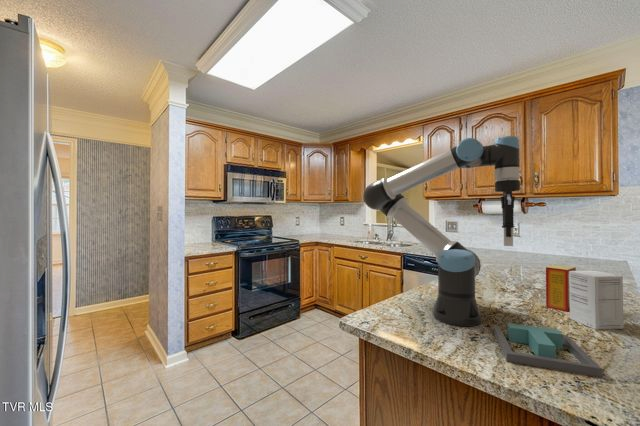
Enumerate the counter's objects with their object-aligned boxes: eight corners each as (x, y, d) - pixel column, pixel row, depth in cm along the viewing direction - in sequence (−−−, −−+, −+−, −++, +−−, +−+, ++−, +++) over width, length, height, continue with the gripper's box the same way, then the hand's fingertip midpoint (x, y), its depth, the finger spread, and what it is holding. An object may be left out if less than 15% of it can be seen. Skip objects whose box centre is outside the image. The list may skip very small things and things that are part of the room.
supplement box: (595, 318, 97) (594, 270, 97) (625, 329, 88) (624, 275, 88) (568, 318, 97) (568, 270, 97) (595, 329, 88) (595, 276, 88)
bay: (506, 361, 69) (506, 353, 69) (493, 332, 86) (493, 325, 86) (602, 377, 62) (602, 368, 62) (567, 342, 79) (567, 335, 79)
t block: (518, 356, 72) (517, 340, 72) (507, 336, 83) (507, 323, 83) (577, 365, 67) (577, 349, 67) (557, 343, 79) (557, 329, 79)
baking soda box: (555, 302, 114) (554, 263, 114) (576, 307, 109) (575, 266, 109) (546, 307, 109) (545, 266, 109) (567, 312, 103) (567, 269, 103)
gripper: (522, 177, 93) (524, 248, 93) (517, 181, 105) (518, 244, 104) (496, 179, 97) (497, 247, 97) (493, 182, 108) (494, 243, 108)
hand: (508, 245), depth 100 cm, fingers closed
